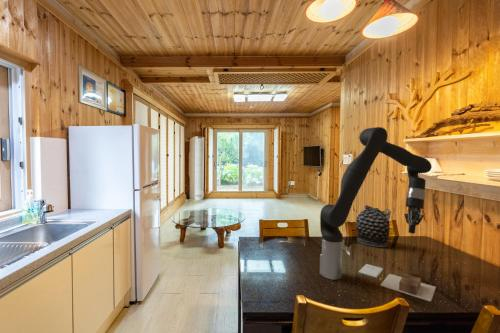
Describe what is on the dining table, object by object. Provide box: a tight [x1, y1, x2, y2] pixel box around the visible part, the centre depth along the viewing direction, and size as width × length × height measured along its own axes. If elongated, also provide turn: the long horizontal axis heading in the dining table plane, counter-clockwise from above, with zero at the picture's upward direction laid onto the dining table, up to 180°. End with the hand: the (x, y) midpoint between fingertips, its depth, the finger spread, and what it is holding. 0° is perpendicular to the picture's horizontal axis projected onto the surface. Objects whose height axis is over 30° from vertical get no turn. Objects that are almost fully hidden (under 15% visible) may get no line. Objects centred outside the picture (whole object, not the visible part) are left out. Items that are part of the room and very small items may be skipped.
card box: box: [399, 273, 422, 295], centre depth 107 cm, size 6×4×10 cm
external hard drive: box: [357, 263, 384, 279], centre depth 123 cm, size 2×8×12 cm
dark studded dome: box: [354, 204, 392, 248], centre depth 164 cm, size 21×15×25 cm
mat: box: [379, 273, 437, 302], centre depth 109 cm, size 18×15×1 cm
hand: (411, 233), depth 124 cm, fingers closed
